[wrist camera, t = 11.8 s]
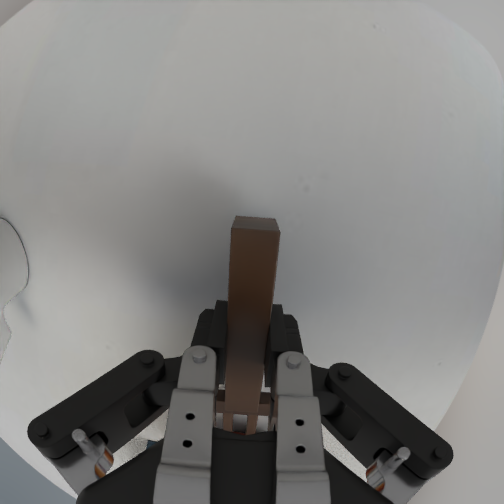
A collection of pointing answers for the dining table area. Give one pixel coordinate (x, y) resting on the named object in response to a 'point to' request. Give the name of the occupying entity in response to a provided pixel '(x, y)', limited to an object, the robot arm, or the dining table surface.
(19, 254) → the mug
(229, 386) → the fork
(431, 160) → the dining table surface
